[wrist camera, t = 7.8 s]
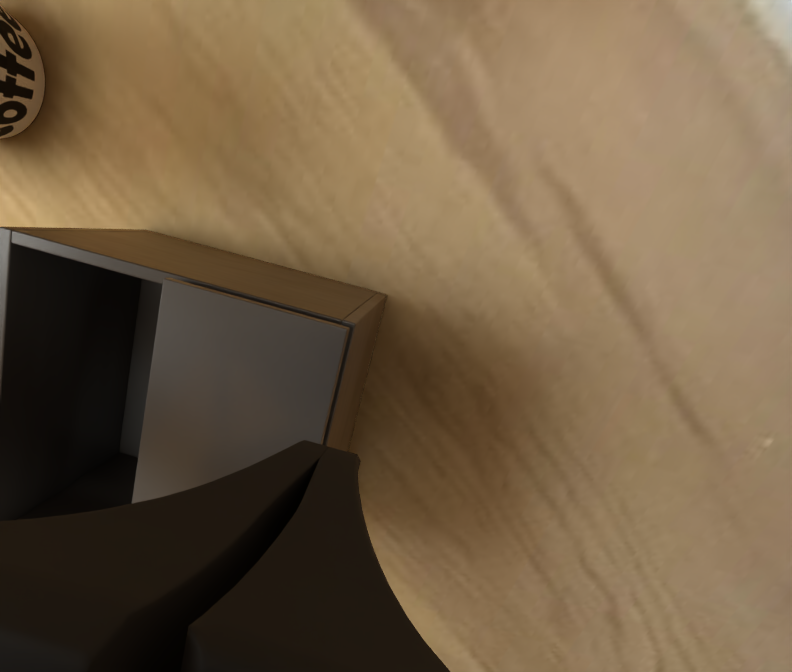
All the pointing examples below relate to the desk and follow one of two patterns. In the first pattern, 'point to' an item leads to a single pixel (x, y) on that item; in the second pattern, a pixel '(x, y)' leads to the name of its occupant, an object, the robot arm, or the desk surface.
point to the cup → (18, 77)
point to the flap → (230, 386)
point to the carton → (124, 353)
